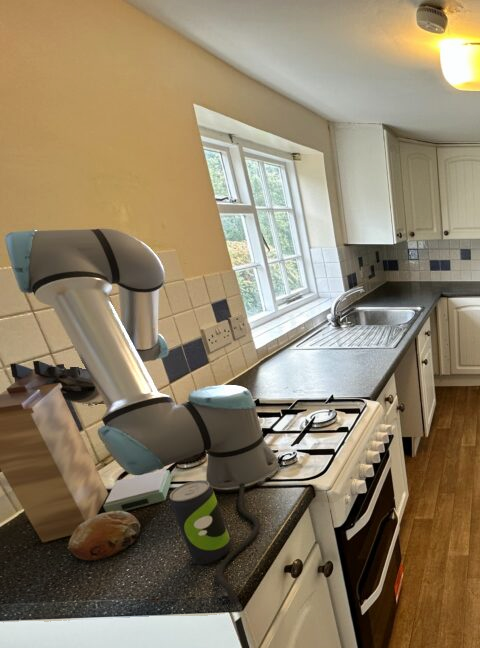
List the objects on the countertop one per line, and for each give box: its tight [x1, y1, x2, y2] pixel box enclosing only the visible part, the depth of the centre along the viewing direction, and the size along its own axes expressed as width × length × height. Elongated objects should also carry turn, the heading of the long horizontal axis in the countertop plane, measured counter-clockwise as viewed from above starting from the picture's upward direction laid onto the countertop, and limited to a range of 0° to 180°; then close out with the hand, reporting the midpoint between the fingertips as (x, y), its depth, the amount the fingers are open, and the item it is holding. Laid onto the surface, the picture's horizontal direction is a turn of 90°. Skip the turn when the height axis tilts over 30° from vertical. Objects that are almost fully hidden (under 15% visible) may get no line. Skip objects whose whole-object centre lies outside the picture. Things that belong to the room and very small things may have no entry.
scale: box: [102, 468, 173, 513], centre depth 94 cm, size 10×10×3 cm
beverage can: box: [169, 479, 232, 565], centre depth 76 cm, size 6×6×15 cm
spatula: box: [0, 364, 54, 413], centre depth 81 cm, size 22×6×2 cm, turn 31°
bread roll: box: [68, 511, 141, 561], centre depth 81 cm, size 10×10×8 cm
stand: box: [0, 383, 109, 544], centre depth 83 cm, size 14×8×28 cm, turn 30°
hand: (25, 368), depth 82 cm, fingers closed on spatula, 2 cm apart
